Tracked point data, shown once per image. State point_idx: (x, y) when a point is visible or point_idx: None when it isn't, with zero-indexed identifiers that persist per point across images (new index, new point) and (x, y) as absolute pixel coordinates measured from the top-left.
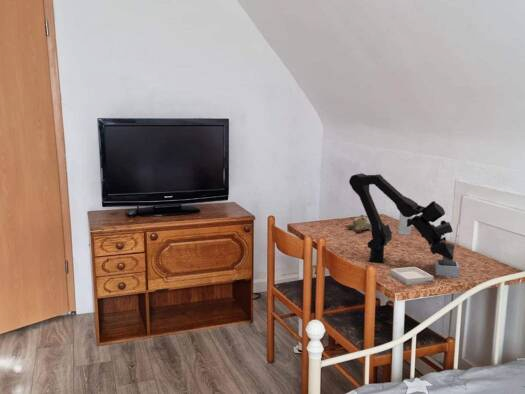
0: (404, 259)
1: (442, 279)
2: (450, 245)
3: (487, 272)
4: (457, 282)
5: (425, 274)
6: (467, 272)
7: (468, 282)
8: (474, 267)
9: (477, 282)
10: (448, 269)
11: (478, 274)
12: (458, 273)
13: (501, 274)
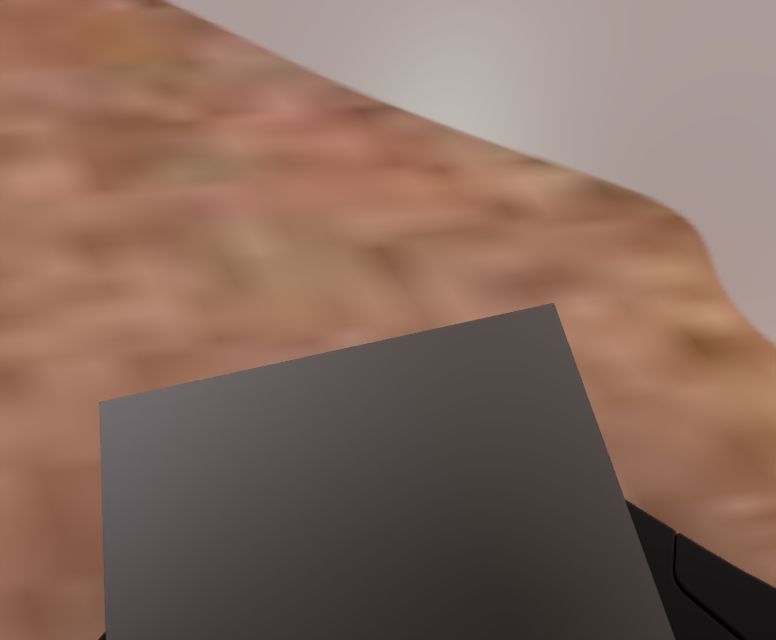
0: None
1: (745, 560)
2: (614, 484)
3: (156, 122)
4: (718, 358)
5: None
6: (252, 298)
7: (625, 249)
8: (15, 249)
9: (560, 172)
10: None
11: (271, 189)
12: None
13: (168, 20)
